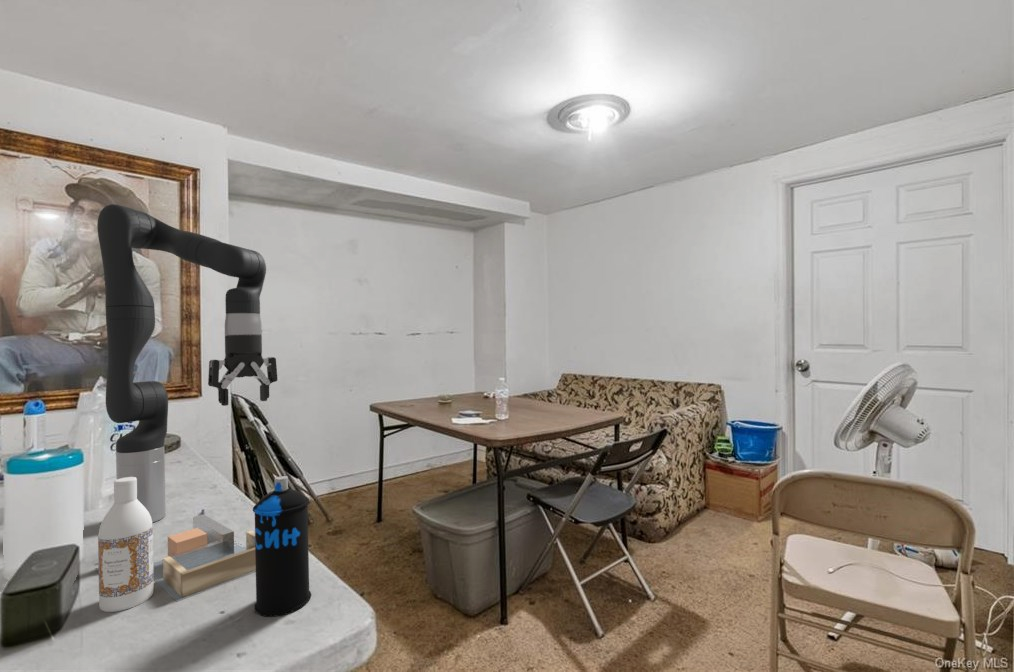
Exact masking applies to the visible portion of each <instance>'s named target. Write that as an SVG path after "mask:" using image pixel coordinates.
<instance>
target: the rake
mask: <svg viewBox="0 0 1014 672" xmlns="http://www.w3.org/2000/svg"><path fill="white" fill-rule="evenodd" d="M195 528H198V529H200V530H202V531H203V532H205V533H207V545H203V546H200V547H197V548H194V549H191V550H187V551H184V552H181V553H178V554H175V555H172V558H173V559H174V560H175V561H176V562H178V563H179V564H180V565H181V566H183V567H184V568H185V569H186V570H188V569H191V568H194V567H197V566H200V565H203V564H205V563H208V562H211V561H214V560H217V559H220V558H223V557H226V556H229V555H232V554H234V537H235V531H234V530H232V529H231V528H228V527H227V526H225V525H223V524H221V523H219V522H218V521H216V520H214V519H213V518H211V517H209V516H207V515H205V514H203V513H202V514H199V515H197V516H196V515H195V516H192V529H195Z"/></svg>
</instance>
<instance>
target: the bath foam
mask: <svg viewBox="0 0 1014 672" xmlns="http://www.w3.org/2000/svg"><path fill="white" fill-rule="evenodd" d="M113 498H114V500H113V501H114V503H113V504H112V506H111V507H110V508H109V510H108V512H107V513H106V514H105V516H104V518H103V519H102V521H101V523H100V525H99V530H98V536H97V545H98V547H97V548H98V552H97V554H98V558H97V559H98V561H97V563H98V564H99V565H98V569H99V570H98V604H99V609H100V610H101V611H102V612H105V613H115V612H120V611H121V612H122V611H126V610H130V609H132V608H135V607H137V606H140V605H142V604H143V603H145V602H146V601H148V600H149V599H150V598H151V597H152V596H153V594H154V591H155V590H154V589H155V587H154V582H155V580H154V572H153V563H154V527H153V522H152V519H151V516H150V514H149V512H148V510H147V509H146V508H145V507H144V506H143V505H142V504H141V503H140V502H139V501H138V500H137V478H136V477H126V478H121V479H117V478H116V479H115V480H114V481H113Z"/></svg>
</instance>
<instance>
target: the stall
mask: <svg viewBox="0 0 1014 672" xmlns="http://www.w3.org/2000/svg"><path fill="white" fill-rule="evenodd" d="M245 538H246V539H245V541H246V551H243V552H240V553H237V554H234V555H231V556H228V557H225V558H222V559H220V560H217V561H214V562H211V563H208V564H205V565H202V566H199V567H196V568H193V569H190V570H186V569H185V568H184V567H183V566H181V565H180V564H179V563H178V562H176V561H175V560H174V559H173V558H171V557H170V556H168V555H167V556H166V557H162V560H163V580H164V581H165V582H166V583H167V584H169V585H170V586H171V587H172V588H173V589H174V590H175V591H176V592H177V593H178V594H179V595H181V596H182V597H183V598H184V597H187V596H189V595H192V594H195V593H197V592H200V591H202V590H205V589H208V588H210V587H213V586H216V585H218V584H221V583H223V582H226V581H229V580H231V579H234V578H237V577H239V576H242V575H244V574H247V573H250V572H252V571H255V570H256V557H255V530H248V531H246V532H245Z"/></svg>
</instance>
